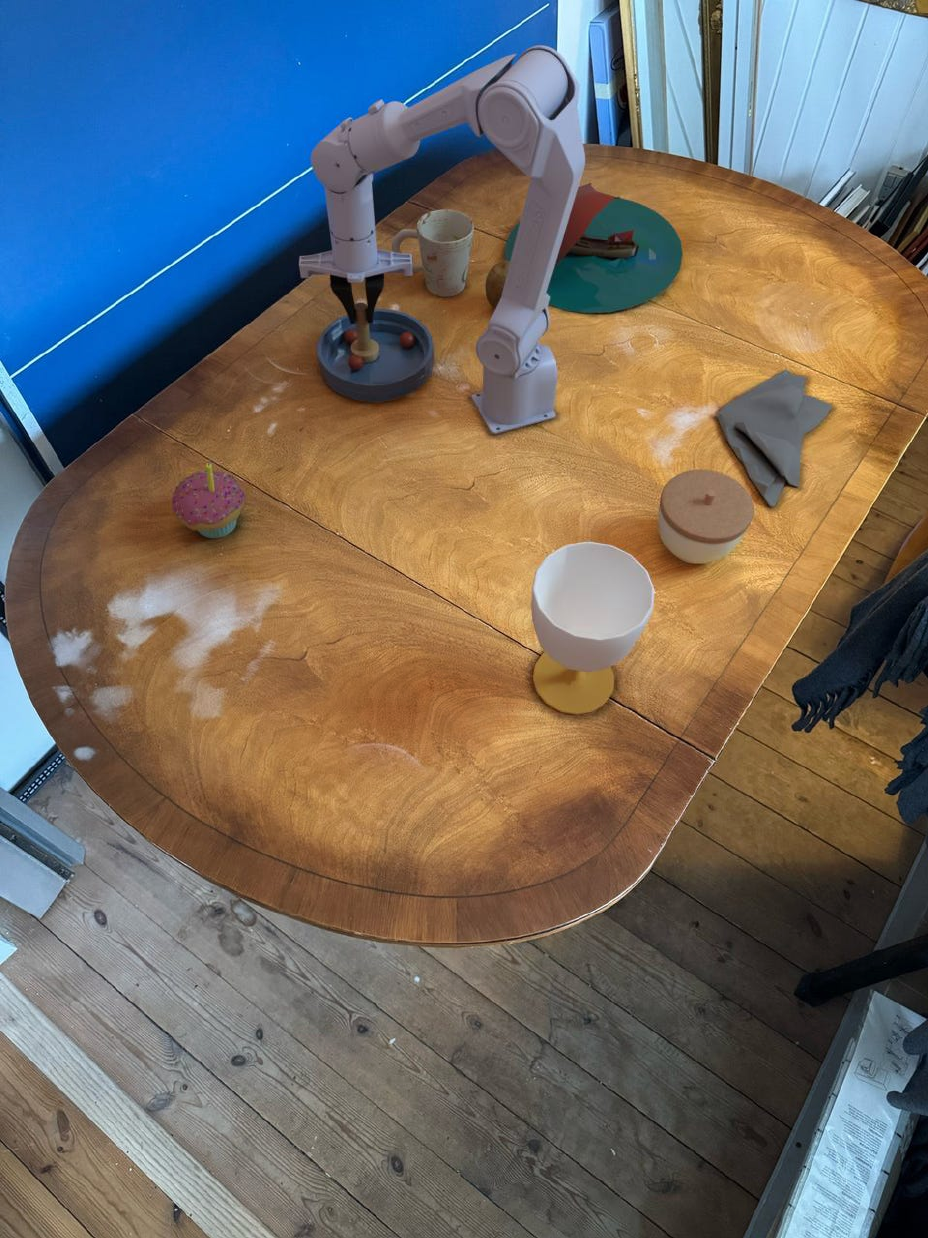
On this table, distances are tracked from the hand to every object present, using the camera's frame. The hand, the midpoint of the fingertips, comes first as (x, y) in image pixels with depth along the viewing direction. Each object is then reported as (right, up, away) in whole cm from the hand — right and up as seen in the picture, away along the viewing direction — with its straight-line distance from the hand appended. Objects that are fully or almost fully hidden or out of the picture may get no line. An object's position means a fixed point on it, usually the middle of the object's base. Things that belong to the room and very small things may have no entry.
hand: (361, 318), depth 123 cm
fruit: (+20, +5, +12) cm, 24 cm away
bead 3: (+6, -1, +5) cm, 8 cm away
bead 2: (-1, -5, +3) cm, 6 cm away
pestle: (0, -3, +5) cm, 6 cm away
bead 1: (-2, -1, +6) cm, 6 cm away
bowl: (+2, -5, +5) cm, 7 cm away
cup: (+26, -48, -24) cm, 60 cm away
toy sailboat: (+35, +16, +20) cm, 43 cm away
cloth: (+55, -16, -2) cm, 57 cm away
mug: (+9, +11, +16) cm, 21 cm away
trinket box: (+42, -32, -13) cm, 55 cm away
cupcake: (-17, -30, -12) cm, 36 cm away
